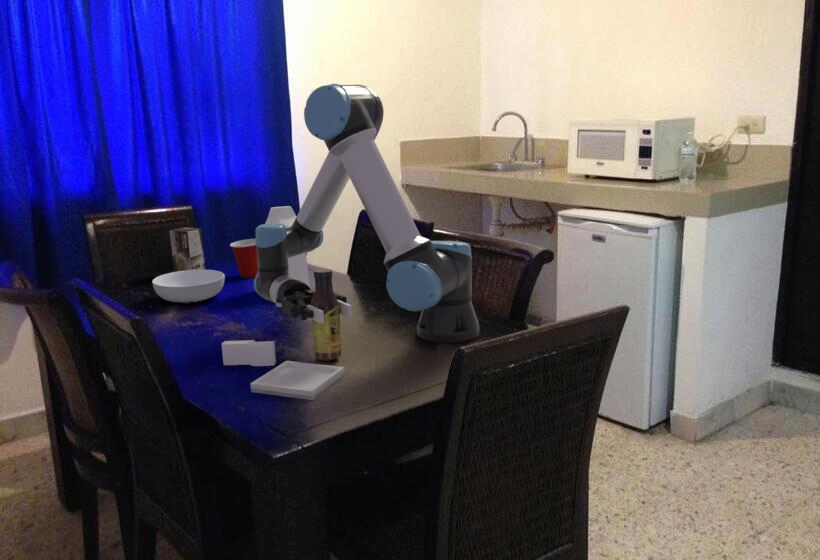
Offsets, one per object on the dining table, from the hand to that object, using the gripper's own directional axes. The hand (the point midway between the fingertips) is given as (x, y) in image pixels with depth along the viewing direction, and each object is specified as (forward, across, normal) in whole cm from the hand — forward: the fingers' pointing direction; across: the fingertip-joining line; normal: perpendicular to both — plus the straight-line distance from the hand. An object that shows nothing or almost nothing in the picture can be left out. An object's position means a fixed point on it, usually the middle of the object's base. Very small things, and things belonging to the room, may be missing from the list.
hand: (336, 314), depth 159 cm
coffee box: (-112, -2, -11) cm, 112 cm away
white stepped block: (-13, +15, -12) cm, 24 cm away
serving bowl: (-79, +8, -12) cm, 80 cm away
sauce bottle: (-5, 0, -11) cm, 12 cm away
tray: (+4, +12, -12) cm, 17 cm away
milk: (-70, -19, -12) cm, 73 cm away
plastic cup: (-97, -18, -12) cm, 99 cm away
